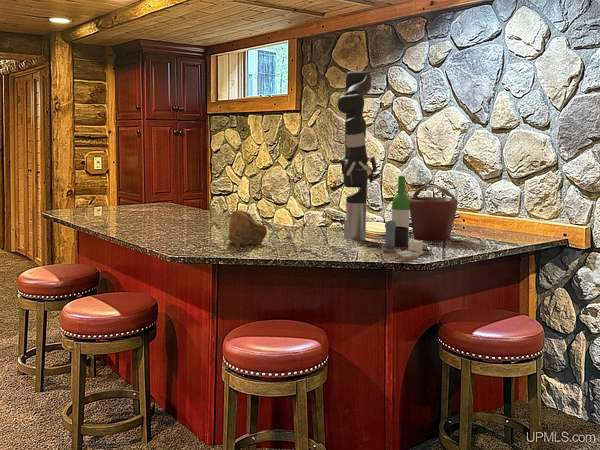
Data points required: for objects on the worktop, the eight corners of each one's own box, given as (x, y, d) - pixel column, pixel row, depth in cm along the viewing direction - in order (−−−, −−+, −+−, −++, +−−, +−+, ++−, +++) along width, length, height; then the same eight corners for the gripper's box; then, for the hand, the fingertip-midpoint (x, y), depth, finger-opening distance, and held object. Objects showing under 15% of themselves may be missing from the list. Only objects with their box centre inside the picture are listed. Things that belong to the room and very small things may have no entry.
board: (346, 253, 265) (346, 249, 265) (358, 249, 274) (358, 246, 274) (408, 260, 251) (408, 256, 250) (419, 256, 260) (419, 252, 260)
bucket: (464, 241, 299) (466, 187, 296) (421, 243, 292) (423, 187, 289) (437, 234, 322) (439, 183, 319) (396, 235, 315) (398, 183, 312)
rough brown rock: (263, 250, 274) (266, 215, 273) (224, 246, 275) (227, 211, 273) (267, 243, 297) (270, 211, 296) (231, 240, 298) (234, 207, 296)
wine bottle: (394, 245, 286) (396, 176, 282) (388, 242, 294) (390, 175, 290) (411, 245, 288) (413, 176, 284) (404, 242, 295) (407, 175, 291)
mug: (408, 246, 283) (408, 226, 282) (407, 251, 272) (408, 229, 271) (386, 245, 285) (386, 225, 284) (384, 250, 274) (385, 228, 272)
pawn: (380, 252, 260) (381, 220, 258) (386, 250, 264) (387, 219, 262) (392, 253, 257) (393, 221, 255) (398, 251, 261) (399, 220, 260)
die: (408, 253, 266) (408, 241, 265) (410, 251, 271) (410, 239, 270) (420, 254, 264) (421, 241, 264) (422, 252, 269) (422, 240, 269)
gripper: (375, 141, 267) (379, 179, 271) (341, 144, 272) (346, 182, 276) (371, 144, 260) (375, 184, 264) (336, 147, 265) (342, 186, 269)
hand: (361, 183), depth 270 cm, fingers open, 8 cm apart
